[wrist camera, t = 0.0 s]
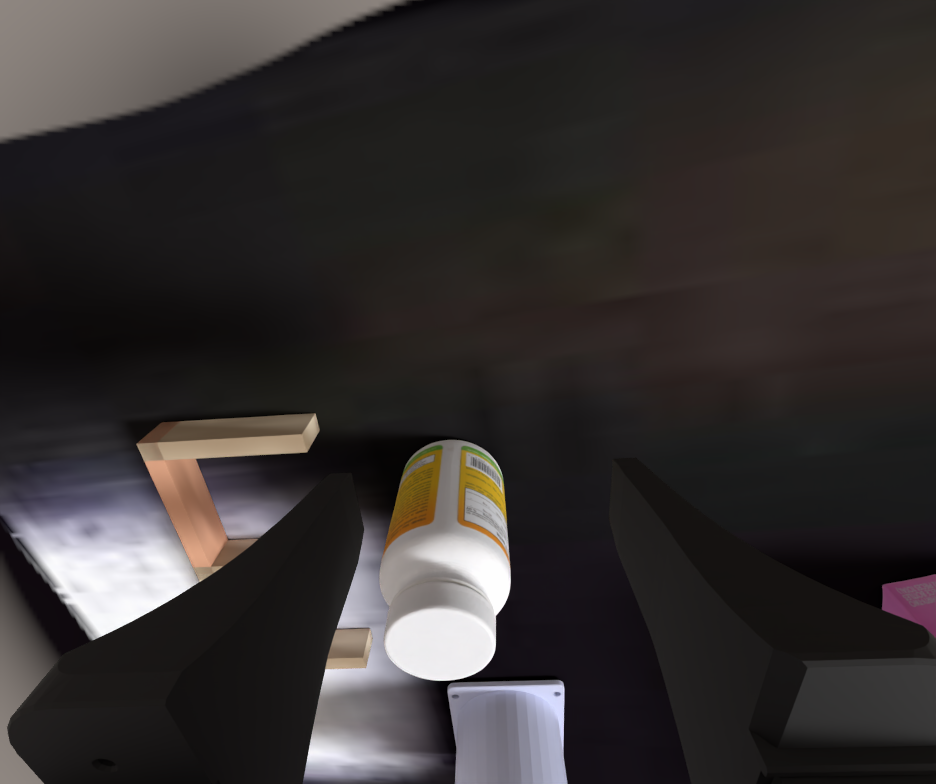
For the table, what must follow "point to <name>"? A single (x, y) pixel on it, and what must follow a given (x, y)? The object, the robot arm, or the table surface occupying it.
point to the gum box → (913, 600)
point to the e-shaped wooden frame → (192, 505)
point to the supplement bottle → (446, 562)
